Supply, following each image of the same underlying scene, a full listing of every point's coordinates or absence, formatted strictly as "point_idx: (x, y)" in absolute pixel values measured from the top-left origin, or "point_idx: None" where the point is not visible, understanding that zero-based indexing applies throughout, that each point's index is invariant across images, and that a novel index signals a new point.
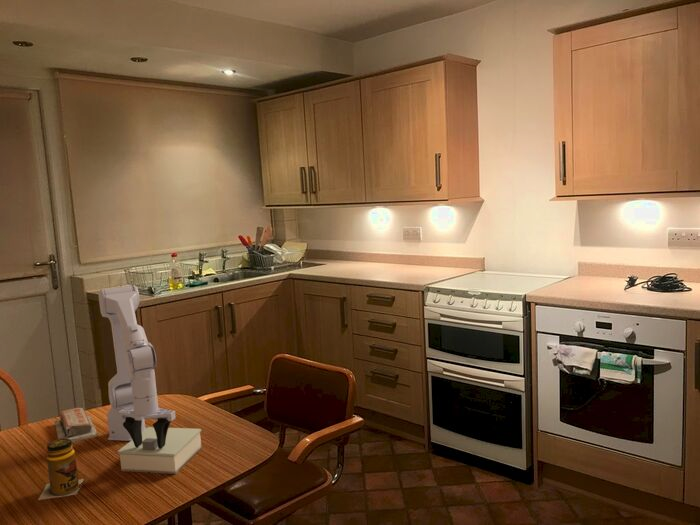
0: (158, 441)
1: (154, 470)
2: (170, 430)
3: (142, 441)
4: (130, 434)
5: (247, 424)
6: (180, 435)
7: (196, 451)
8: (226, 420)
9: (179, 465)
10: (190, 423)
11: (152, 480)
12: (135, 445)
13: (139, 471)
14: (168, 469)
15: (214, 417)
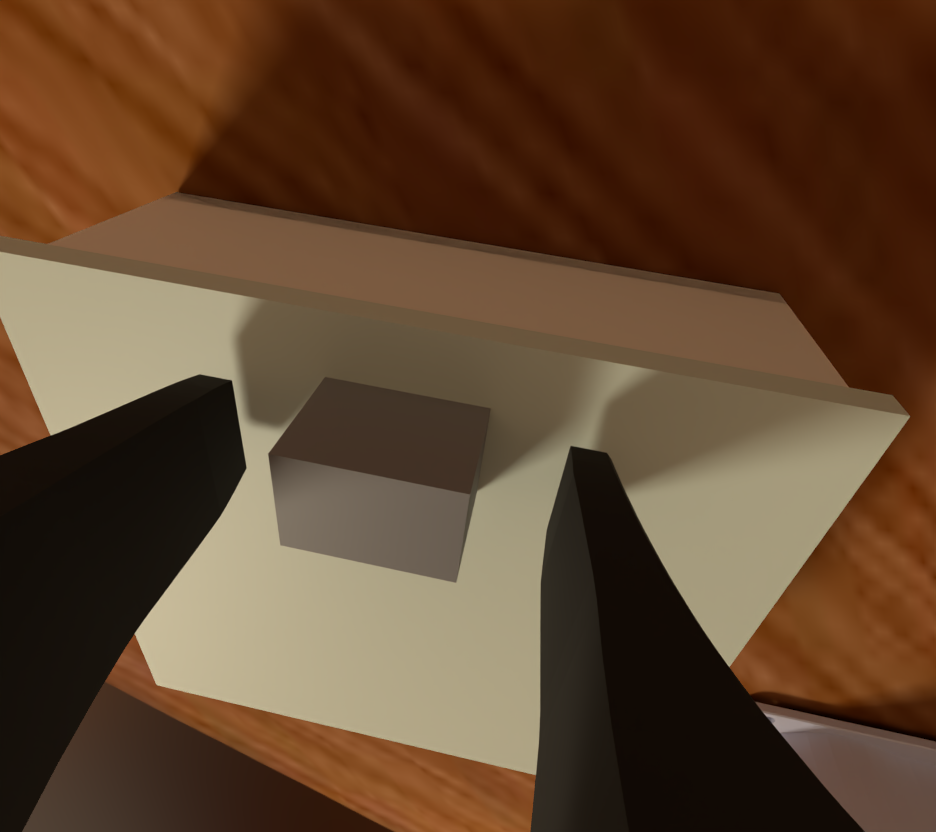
0: (119, 424)
1: (388, 236)
2: (400, 716)
3: (465, 499)
4: (691, 640)
5: (169, 710)
6: (248, 631)
7: None
8: (298, 758)
9: None
10: (473, 778)
11: (337, 53)
12: (601, 466)
13: (566, 260)
14: (222, 214)
15: (375, 790)
